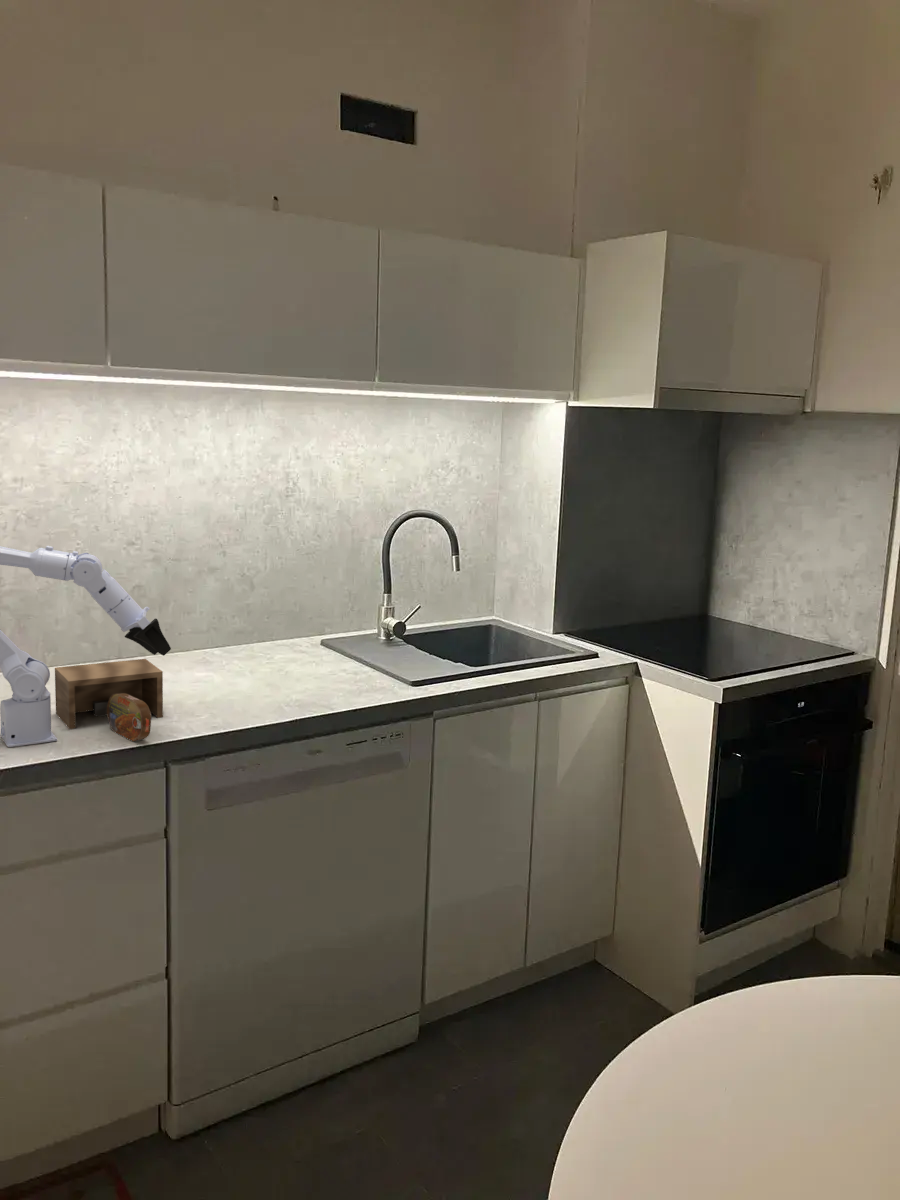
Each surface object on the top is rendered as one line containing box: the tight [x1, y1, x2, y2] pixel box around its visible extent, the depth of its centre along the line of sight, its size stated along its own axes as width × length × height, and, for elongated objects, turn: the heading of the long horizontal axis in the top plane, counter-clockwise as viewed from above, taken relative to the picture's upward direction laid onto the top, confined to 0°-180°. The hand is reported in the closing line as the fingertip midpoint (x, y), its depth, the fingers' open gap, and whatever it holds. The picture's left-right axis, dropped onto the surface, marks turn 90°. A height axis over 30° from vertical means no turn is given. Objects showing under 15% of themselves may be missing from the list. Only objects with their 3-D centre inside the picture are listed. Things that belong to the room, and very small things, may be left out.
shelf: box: [54, 658, 164, 730], centre depth 223 cm, size 20×12×10 cm, turn 124°
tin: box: [106, 693, 152, 742], centre depth 212 cm, size 15×3×8 cm, turn 45°
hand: (162, 651), depth 211 cm, fingers open, 7 cm apart
